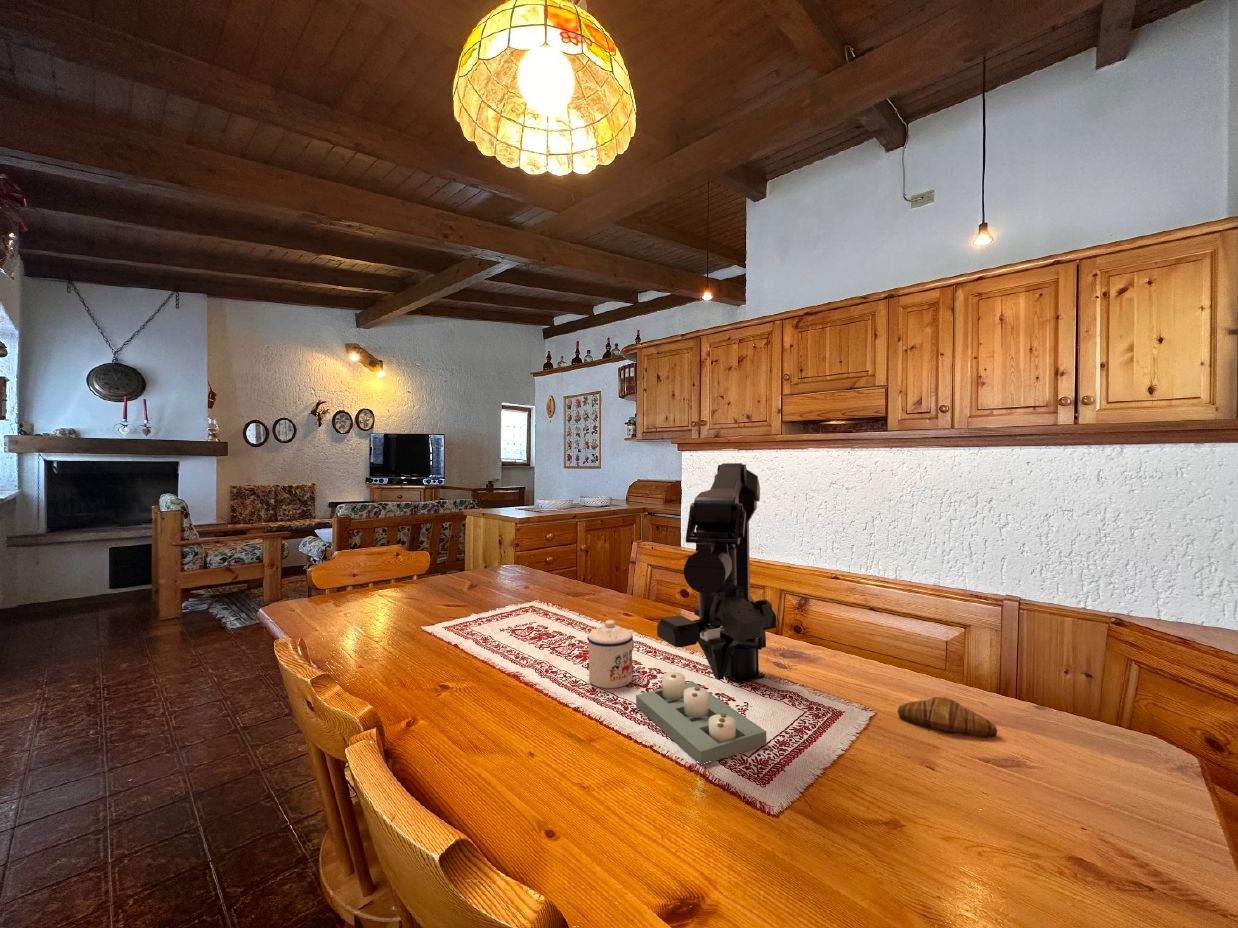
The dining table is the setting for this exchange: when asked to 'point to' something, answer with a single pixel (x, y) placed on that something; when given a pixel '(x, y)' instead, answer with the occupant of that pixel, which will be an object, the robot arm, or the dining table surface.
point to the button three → (722, 728)
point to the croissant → (947, 717)
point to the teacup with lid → (610, 656)
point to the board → (699, 726)
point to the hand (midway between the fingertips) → (719, 678)
